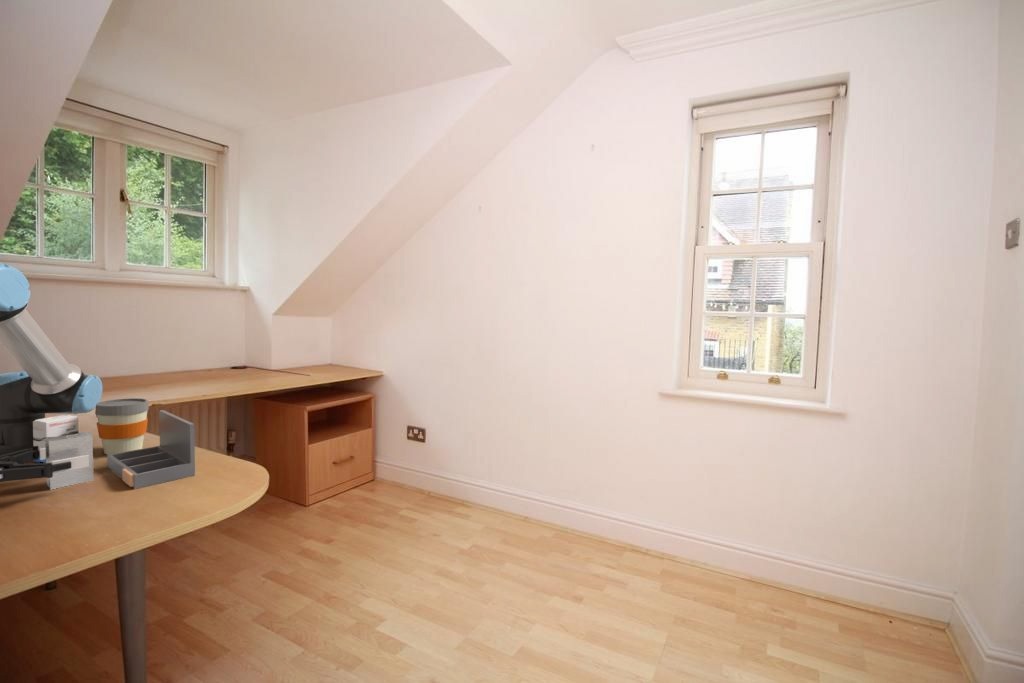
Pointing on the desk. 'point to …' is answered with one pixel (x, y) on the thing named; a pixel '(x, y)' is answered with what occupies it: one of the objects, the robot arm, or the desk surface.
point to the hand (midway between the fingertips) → (81, 454)
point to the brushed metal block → (68, 449)
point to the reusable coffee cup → (122, 424)
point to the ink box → (53, 429)
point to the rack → (159, 455)
